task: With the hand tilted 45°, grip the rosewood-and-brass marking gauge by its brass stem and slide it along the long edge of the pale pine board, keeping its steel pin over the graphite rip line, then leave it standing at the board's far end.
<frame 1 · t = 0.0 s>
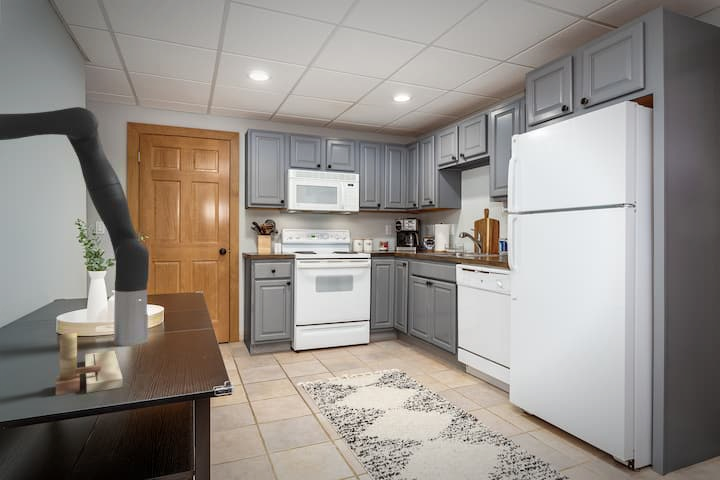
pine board: (102, 373, 106), on the table
marking gauge: (68, 388, 96), on the table
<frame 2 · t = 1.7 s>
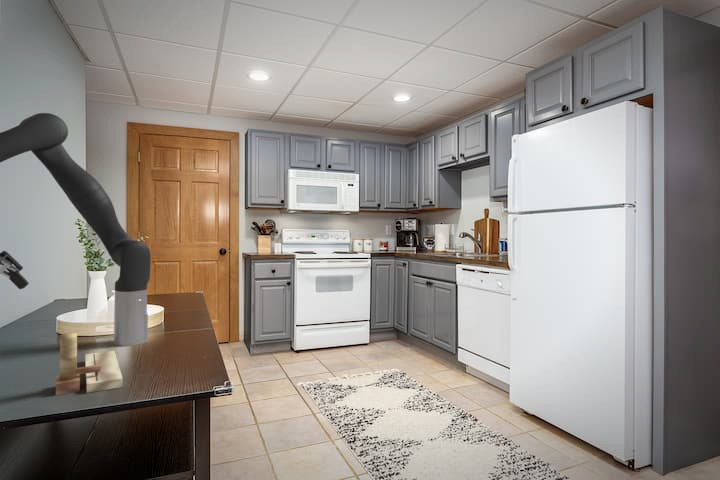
hand: (11, 288, 94), 23 cm above the table, tool tilted 45°, fingers open, 8 cm apart
nothing on the table moved.
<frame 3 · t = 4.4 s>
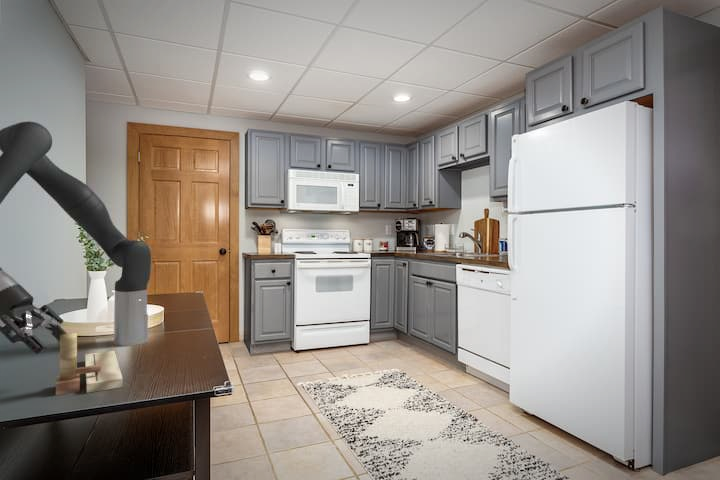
hand: (54, 345, 95), 10 cm above the table, tool tilted 45°, fingers open, 8 cm apart
nothing on the table moved.
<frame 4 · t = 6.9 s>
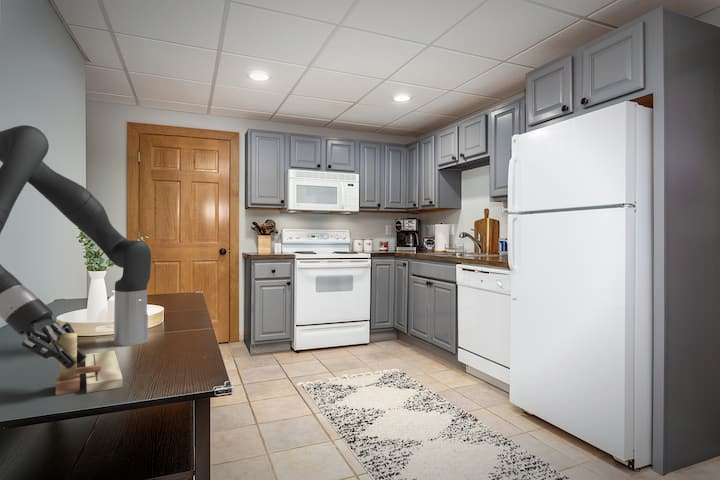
hand: (77, 362, 96), 6 cm above the table, tool tilted 45°, fingers closed on marking gauge, 3 cm apart
marking gauge: (68, 388, 96), on the table, touching gripper
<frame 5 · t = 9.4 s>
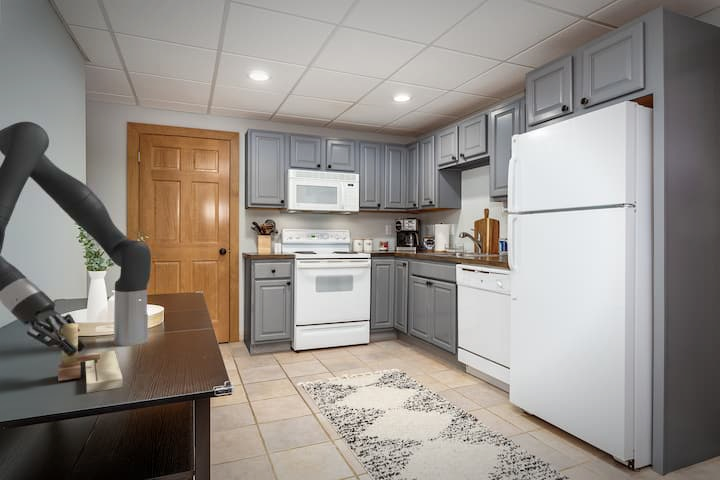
hand: (78, 351, 102), 7 cm above the table, tool tilted 45°, fingers closed on marking gauge, 3 cm apart
marking gauge: (69, 375, 102), point 1 cm above the table, touching gripper
when the fingers open (6 cm above the table, at t = 12.1 s): marking gauge stays where it is, on the table.
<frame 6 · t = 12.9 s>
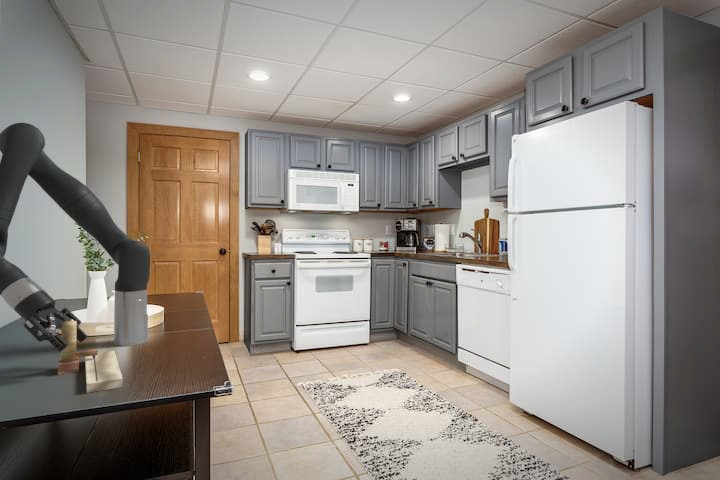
hand: (74, 343, 108), 7 cm above the table, tool tilted 45°, fingers open, 8 cm apart
marking gauge: (68, 370, 108), on the table
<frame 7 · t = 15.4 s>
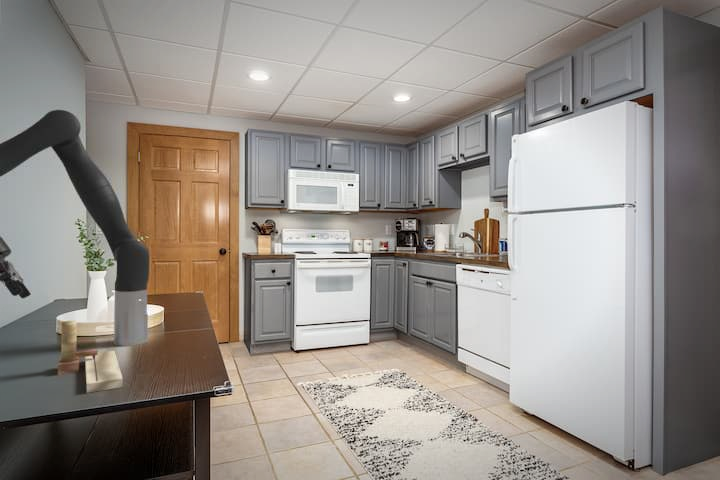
hand: (22, 295, 109), 19 cm above the table, tool tilted 35°, fingers open, 8 cm apart
nothing on the table moved.
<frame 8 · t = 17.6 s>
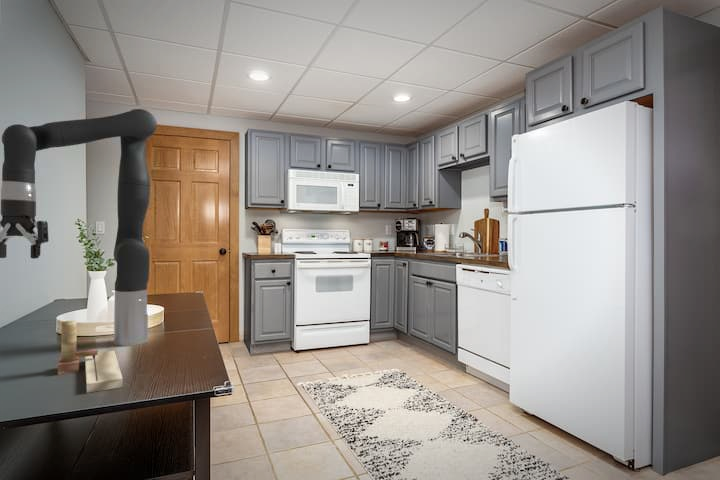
hand: (18, 258, 115), 28 cm above the table, tool pointing down, fingers open, 8 cm apart
nothing on the table moved.
at the end: marking gauge 0.3 cm from the target spot, on the table; marking gauge tilted 0°; the gripper is holding nothing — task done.
